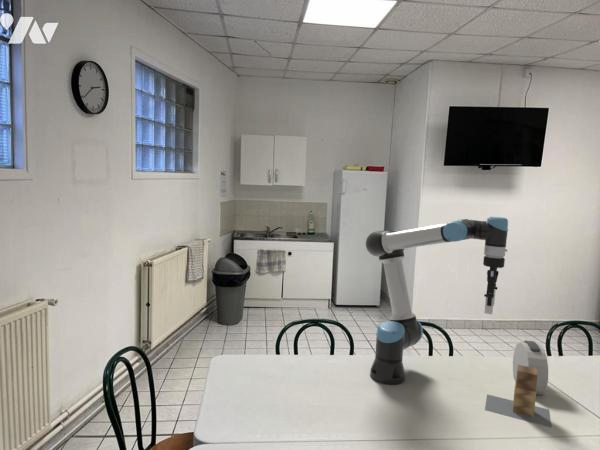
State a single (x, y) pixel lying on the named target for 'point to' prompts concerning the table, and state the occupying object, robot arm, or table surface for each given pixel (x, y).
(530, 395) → the oak block upper
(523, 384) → the walnut cube
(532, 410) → the oak block lower
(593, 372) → the table surface
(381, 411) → the table surface
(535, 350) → the alarm clock
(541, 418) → the slate mat
